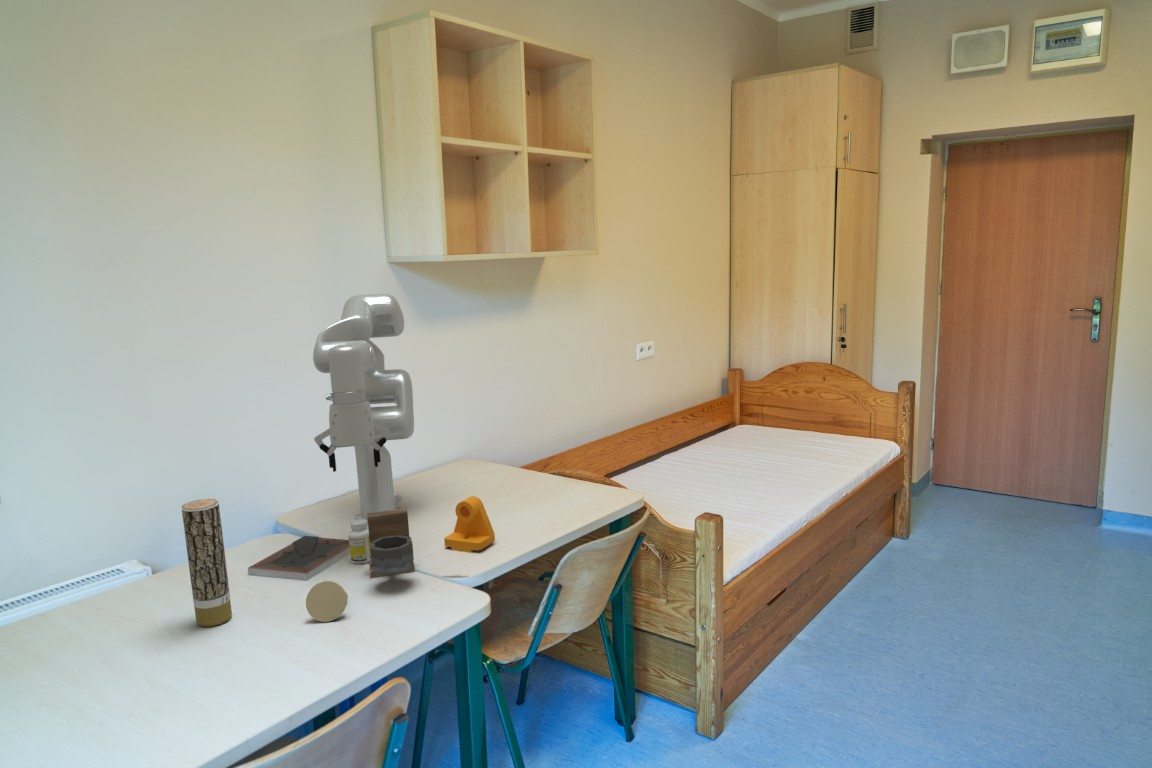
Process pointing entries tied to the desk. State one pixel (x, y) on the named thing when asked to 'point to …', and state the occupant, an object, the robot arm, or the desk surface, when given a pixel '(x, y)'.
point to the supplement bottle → (359, 542)
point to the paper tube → (207, 562)
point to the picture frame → (302, 558)
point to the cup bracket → (390, 543)
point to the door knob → (326, 601)
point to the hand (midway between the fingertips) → (355, 467)
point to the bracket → (470, 527)
